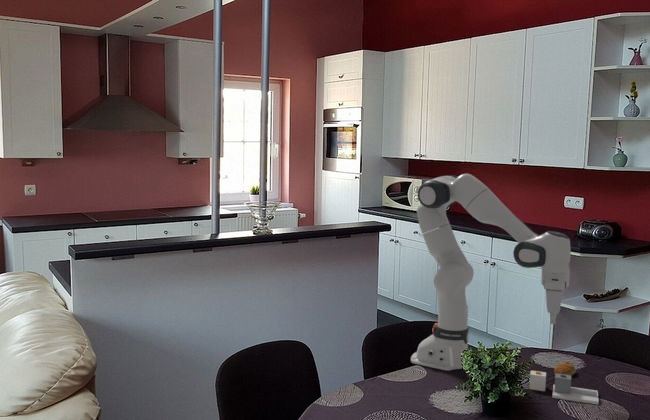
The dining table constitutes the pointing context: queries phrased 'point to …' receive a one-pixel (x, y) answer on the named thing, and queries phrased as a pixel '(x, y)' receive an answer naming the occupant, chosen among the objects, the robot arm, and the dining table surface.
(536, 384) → the module
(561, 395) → the rail base
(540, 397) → the dining table surface
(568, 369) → the pastry
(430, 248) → the robot arm
